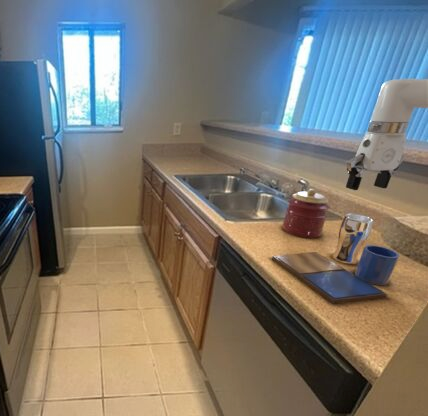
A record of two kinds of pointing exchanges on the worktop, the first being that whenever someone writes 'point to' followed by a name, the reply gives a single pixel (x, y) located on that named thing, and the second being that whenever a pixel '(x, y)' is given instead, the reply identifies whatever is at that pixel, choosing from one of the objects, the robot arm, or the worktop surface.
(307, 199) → the kitchen canister
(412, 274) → the worktop surface
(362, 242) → the beer glass
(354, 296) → the sorting board
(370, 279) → the blue tumbler
